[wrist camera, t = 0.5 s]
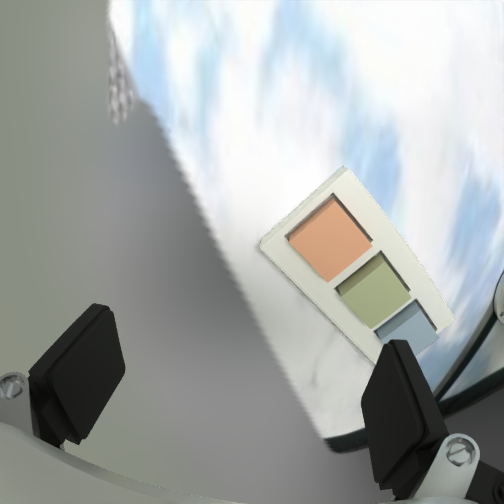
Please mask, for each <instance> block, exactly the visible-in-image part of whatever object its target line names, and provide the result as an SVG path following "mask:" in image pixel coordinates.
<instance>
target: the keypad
mask: <svg viewBox="0 0 504 504" xmlns="http://www.w3.org/2000/svg"><path fill="white" fill-rule="evenodd" d="M331 198H333V199H334V200H335V201H336V202H337V203H338V204H339V206H340V207H341V208H342V209H343V210H344V211H345V213H346V214H347V215H348V216H349V217H350V218H351V220H352V221H353V222H354V223H355V224H356V226H357V227H358V228H359V229H360V230H361V232H362V233H363V234H364V235H365V236H366V238H367V239H368V240H369V242H370V243H371V244H372V247H371V248H370V249H369V250H367V251H366V252H365V253H364V254H363V255H362V256H360V257H359V258H358V259H357V260H355V261H354V262H353V263H352V264H351V265H349V266H348V267H347V268H346V269H345V270H343V271H342V272H341V273H340V274H338V275H337V276H336V277H335V278H333V279H332V280H331V281H330V282H327V281H326V280H325V279H324V278H323V277H322V276H321V275H320V274H319V273H318V272H317V271H316V270H315V269H314V268H313V267H312V266H311V264H310V263H309V262H308V261H307V260H306V259H305V258H304V257H303V256H302V255H301V254H300V253H299V252H298V251H297V250H296V249H295V248H294V247H293V246H292V245H291V244H290V243H289V235H290V234H291V233H292V232H293V231H294V230H295V229H297V228H298V227H299V226H300V225H301V224H302V223H303V222H305V221H306V220H307V219H308V218H309V217H310V216H311V215H313V214H314V213H315V212H316V211H317V210H318V209H319V208H320V207H322V206H323V205H324V204H325V203H326V202H327V201H328V200H329V199H331ZM260 249H261V250H262V251H263V252H264V253H265V254H266V255H267V256H268V257H269V258H270V259H271V260H272V261H273V262H274V263H275V264H276V265H277V266H278V267H279V268H280V269H281V270H282V271H283V272H284V273H285V274H286V275H287V276H288V277H289V278H290V279H291V280H292V281H293V282H294V283H295V284H296V285H297V286H298V287H299V288H300V289H301V290H302V291H303V292H304V293H305V294H306V295H307V296H308V297H309V298H310V299H311V300H312V301H313V302H314V303H315V304H316V305H317V306H318V307H319V308H320V309H321V310H322V311H323V312H324V313H325V314H326V315H327V316H328V317H329V318H330V319H331V320H332V322H333V323H334V324H335V325H336V326H337V327H338V328H339V329H340V330H341V331H342V332H343V333H344V334H345V335H346V336H347V337H348V338H349V339H350V340H351V341H352V342H353V343H354V344H355V345H356V346H357V347H358V348H359V349H360V350H361V351H362V352H363V353H364V354H365V355H366V356H367V357H368V358H369V359H370V360H371V361H372V362H373V363H374V364H375V365H376V363H377V360H378V358H379V355H380V353H381V350H382V347H383V345H384V344H383V343H382V341H381V340H380V338H379V335H378V333H377V330H376V329H378V328H379V327H380V326H382V325H383V324H385V323H386V322H387V321H389V320H390V319H391V318H392V317H394V316H395V315H396V314H398V313H399V312H400V311H402V310H403V309H404V308H405V307H407V306H408V305H409V304H410V303H412V302H413V301H415V302H416V304H417V305H418V306H419V308H420V309H421V311H422V312H423V314H424V315H425V317H426V318H427V320H428V321H429V322H430V324H431V325H432V327H433V328H434V330H435V332H436V333H437V334H438V333H440V332H441V331H442V330H443V329H445V328H446V327H447V326H448V325H449V324H451V323H452V322H453V321H454V320H455V318H454V316H453V314H452V313H451V311H450V309H449V308H448V306H447V304H446V302H445V301H444V299H443V297H442V296H441V294H440V293H439V291H438V289H437V288H436V286H435V285H434V283H433V281H432V280H431V278H430V277H429V275H428V274H427V272H426V270H425V269H424V267H423V266H422V264H421V263H420V261H419V260H418V258H417V257H416V256H415V254H414V253H413V251H412V250H411V248H410V247H409V245H408V244H407V243H406V241H405V240H404V238H403V237H402V236H401V234H400V233H399V231H398V230H397V229H396V227H395V226H394V225H393V223H392V222H391V221H390V219H389V218H388V217H387V215H386V214H385V213H384V211H383V210H382V209H381V208H380V206H379V205H378V204H377V202H376V201H375V200H374V199H373V197H372V196H371V195H370V194H369V192H368V191H367V190H366V189H365V187H364V186H363V185H362V184H361V183H360V181H359V180H358V179H357V178H356V177H355V175H354V174H353V173H352V172H351V171H350V170H349V169H348V168H346V167H344V166H343V167H341V168H340V169H339V170H338V171H337V172H336V173H335V174H334V175H333V176H331V177H330V178H329V179H328V180H327V181H326V182H325V183H324V184H323V185H321V186H320V187H319V188H318V189H317V190H316V191H315V192H314V193H312V194H311V195H310V196H309V197H308V198H307V199H306V200H305V201H304V202H302V203H301V204H300V205H299V206H298V207H297V208H296V209H295V210H294V211H292V212H291V213H290V214H289V215H288V216H287V217H286V218H285V219H283V220H282V221H281V222H280V223H279V224H278V225H277V226H276V227H275V228H273V229H272V230H271V231H270V232H269V233H268V234H267V235H266V236H265V237H263V238H262V240H261V244H260ZM378 254H380V255H381V257H382V258H383V259H384V260H385V262H386V263H387V264H388V266H389V267H390V268H391V270H392V271H393V272H394V273H395V275H396V276H397V277H398V279H399V280H400V282H401V283H402V284H403V286H404V287H405V288H406V290H407V291H408V293H409V294H410V296H411V297H412V298H411V299H410V300H409V301H407V302H406V303H405V304H404V305H402V306H401V307H400V308H399V309H397V310H396V311H395V312H394V313H392V314H391V315H390V316H388V317H387V318H386V319H384V320H383V321H382V322H380V323H379V324H378V325H376V326H375V327H374V328H372V329H370V328H369V327H368V326H367V325H366V324H365V323H364V322H363V320H362V319H361V318H360V317H359V316H358V315H357V314H356V313H355V312H354V311H353V309H352V308H351V307H350V306H349V305H348V304H347V303H346V302H345V301H344V300H343V299H342V298H341V295H340V292H339V289H338V287H339V286H340V285H341V284H342V283H344V282H345V281H346V280H348V279H349V278H350V277H351V276H352V275H354V274H355V273H356V272H357V271H359V270H360V269H361V268H362V267H364V266H365V265H366V264H367V263H368V262H370V261H371V260H372V259H373V258H374V257H376V256H377V255H378Z"/></svg>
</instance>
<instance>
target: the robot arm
mask: <svg viewBox="0 0 504 504" xmlns="http://www.w3.org/2000/svg"><path fill="white" fill-rule="evenodd" d="M494 310H495V314H496V316H497V318H498V319H499V320H500V322H501V323H503V324H504V273H503V275H502V277H501V279H500V281H499V284H498V287H497V290H496V294H495V299H494ZM28 372H29V374H30V376H29V377H28V378H27V377H26V376H25V375H23V374H22V373H19V372H9V373H6V374H4V375H2V376H1V377H0V504H245V503H236V502H229V501H222V500H216V499H210V498H205V497H200V496H195V495H190V494H186V493H181V492H177V491H172V490H169V489H165V488H162V487H158V486H154V485H151V484H148V483H144V482H141V481H138V480H135V479H132V478H128V477H125V476H123V475H120V474H117V473H114V472H112V471H109V470H106V469H103V468H101V467H99V466H96V465H94V464H91V463H89V462H87V461H84V460H82V459H80V458H78V457H75V456H73V455H71V454H69V453H67V452H65V449H64V445H63V442H64V441H65V439H67V440H68V441H70V442H73V443H75V444H77V445H79V444H80V442H81V440H82V439H86V438H87V436H88V435H89V433H90V431H91V429H92V428H93V426H94V424H95V422H96V421H97V419H98V417H99V415H100V414H101V412H102V411H103V409H104V407H105V406H106V404H107V402H108V401H109V399H110V397H111V395H112V394H113V392H114V391H115V389H116V387H117V386H118V384H119V382H120V381H121V379H122V377H123V376H124V373H125V363H124V359H123V355H122V351H121V347H120V342H119V337H118V333H117V328H116V323H115V318H114V313H113V312H112V311H110V308H109V307H108V306H105V305H101V304H96V303H94V304H92V305H91V306H90V307H89V308H88V309H87V310H86V311H85V312H84V313H83V314H82V315H81V316H80V317H79V318H78V319H77V320H76V321H75V322H74V323H73V324H72V325H71V326H70V327H69V328H68V329H67V330H66V331H65V332H64V333H63V334H62V335H61V336H60V337H59V339H58V340H57V341H56V342H55V343H54V344H53V345H52V346H51V347H50V348H49V349H48V350H47V351H46V352H45V353H44V355H43V356H42V357H41V358H40V359H39V360H38V361H37V362H36V363H35V364H34V366H33V367H32V368H31V369H30V370H29V371H28ZM361 408H362V413H363V418H364V423H365V428H366V434H367V439H368V445H369V450H370V456H371V463H372V469H373V475H374V480H375V482H376V483H379V487H380V490H385V489H392V490H393V495H394V496H393V498H392V499H391V501H390V502H385V503H377V504H504V473H503V472H501V471H499V470H497V469H496V468H494V467H492V466H490V465H487V464H486V463H484V462H482V461H480V460H479V456H480V453H479V448H478V446H477V444H476V442H475V441H474V440H473V439H472V438H470V437H469V436H467V435H464V434H453V435H450V436H449V433H448V431H447V428H446V426H445V423H444V420H443V418H442V415H441V413H440V411H439V408H438V406H437V403H436V401H435V399H434V396H433V394H432V392H431V389H430V387H429V385H428V383H427V380H426V379H425V377H424V375H423V372H422V370H421V368H420V366H419V364H418V362H417V360H416V357H415V355H414V353H413V351H412V349H411V347H410V345H409V343H408V341H407V340H400V339H391V340H390V341H389V342H388V343H385V344H384V345H383V347H382V350H381V353H380V355H379V358H378V360H377V363H376V365H375V368H374V370H373V373H372V375H371V377H370V380H369V382H368V384H367V387H366V389H365V391H364V393H363V396H362V399H361Z"/></svg>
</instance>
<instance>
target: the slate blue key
mask: <svg viewBox="0 0 504 504" xmlns="http://www.w3.org/2000/svg"><path fill="white" fill-rule="evenodd" d="M376 330H377V333H378V335H379V338H380V340H381V341H382V343H383V344H385V343H388V342H389V341H390V340H391V339H400V340H407V341H408V343H409V345H410V347H411V349H412V351H413V353H414V355H415V356H416V355H417V354H418V353H420V352H421V351H423V350H424V349H425V348H427V347H428V346H429V345H431V344H432V343H433V342H434V341H436V340H437V339H438V338H439V337H438V335H437V333H436V332H435V330H434V328H433V327H432V325H431V324H430V322H429V321H428V320H427V318H426V317H425V315H424V314H423V312H422V311H421V309H420V308H419V306H418V305H417V304H416V302H415V301H413V302H412V303H410V304H409V305H408V306H407V307H405V308H404V309H403V310H402V311H400V312H399V313H398V314H396V315H395V316H394V317H392V318H391V319H390V320H389V321H387V322H386V323H385V324H383V325H382V326H380V327H379V328H378V329H376Z"/></svg>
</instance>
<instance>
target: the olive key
mask: <svg viewBox="0 0 504 504" xmlns="http://www.w3.org/2000/svg"><path fill="white" fill-rule="evenodd" d="M338 289H339V292H340V295H341V298H342V299H343V300H344V301H345V302H346V303H347V304H348V305H349V306H350V307H351V308H352V309H353V311H354V312H355V313H356V314H357V315H358V316H359V317H360V318H361V319H362V320H363V322H364V323H365V324H366V325H367V326H368V327H369V328H370V329H372V328H374V327H375V326H376V325H378V324H379V323H380V322H382V321H383V320H384V319H386V318H387V317H388V316H390V315H391V314H392V313H394V312H395V311H396V310H397V309H399V308H400V307H401V306H402V305H404V304H405V303H406V302H407V301H409V300H410V299H411V298H412V297H411V296H410V294H409V293H408V291H407V290H406V288H405V287H404V286H403V284H402V283H401V282H400V280H399V279H398V277H397V276H396V275H395V273H394V272H393V271H392V270H391V268H390V267H389V266H388V264H387V263H386V262H385V260H384V259H383V258H382V257H381V255H380V254H378V255H377V256H376V257H374V258H373V259H372V260H371V261H370V262H368V263H367V264H366V265H365V266H364V267H362V268H361V269H360V270H359V271H357V272H356V273H355V274H354V275H352V276H351V277H350V278H349V279H348V280H346V281H345V282H344V283H342V284H341V285H340V286H339V287H338Z"/></svg>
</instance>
